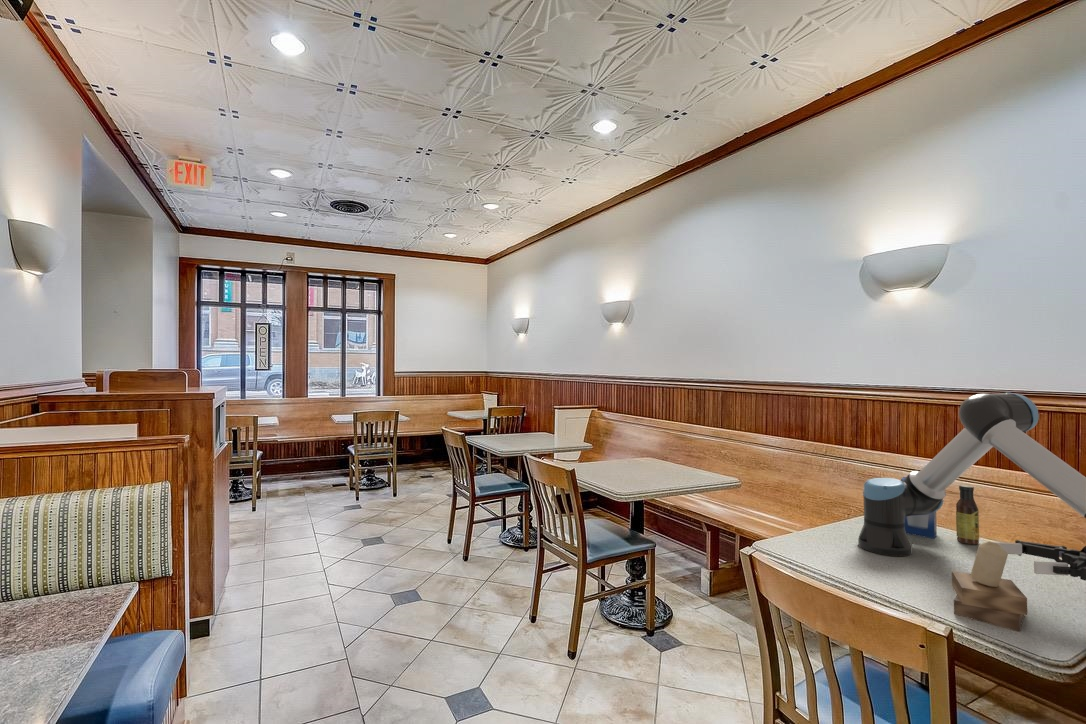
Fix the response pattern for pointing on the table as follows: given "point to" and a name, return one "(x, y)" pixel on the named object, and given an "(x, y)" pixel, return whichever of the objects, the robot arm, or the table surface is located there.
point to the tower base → (989, 615)
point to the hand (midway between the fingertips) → (1012, 557)
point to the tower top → (989, 594)
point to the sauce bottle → (967, 516)
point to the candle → (989, 564)
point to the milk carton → (921, 524)
